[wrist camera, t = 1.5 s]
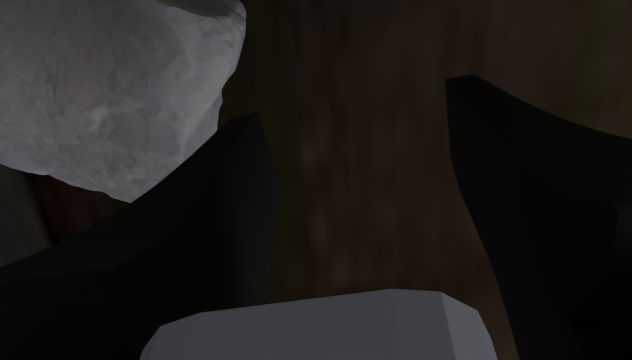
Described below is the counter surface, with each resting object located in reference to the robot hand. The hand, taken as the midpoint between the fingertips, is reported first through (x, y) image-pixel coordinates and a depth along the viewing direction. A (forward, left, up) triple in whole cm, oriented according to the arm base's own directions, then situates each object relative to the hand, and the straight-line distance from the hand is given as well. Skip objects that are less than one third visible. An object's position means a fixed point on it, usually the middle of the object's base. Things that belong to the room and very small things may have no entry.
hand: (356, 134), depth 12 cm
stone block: (+1, +11, -9) cm, 14 cm away
